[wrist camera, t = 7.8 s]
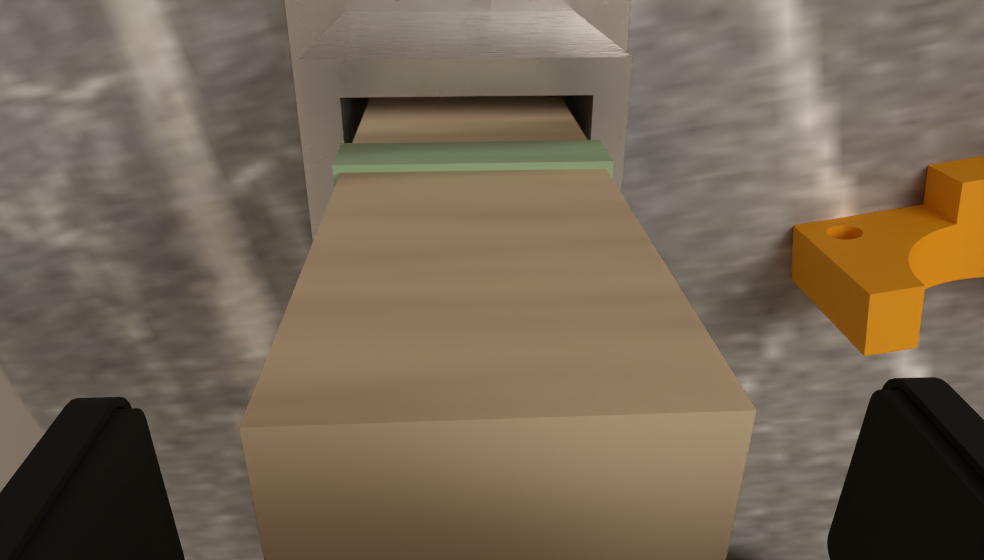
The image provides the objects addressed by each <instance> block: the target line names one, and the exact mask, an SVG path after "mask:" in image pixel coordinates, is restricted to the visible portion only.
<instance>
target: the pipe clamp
mask: <svg viewBox="0 0 984 560" xmlns="http://www.w3.org/2000/svg"><path fill="white" fill-rule="evenodd" d="M979 277H984V156H980V157H974V158H968V159H962V160H956V161H950V162H944V163H938V164H932V165H928V171H927V179H926V187H925V195H924V203H923V204H922V205H916V206H910V207H904V208H898V209H892V210H886V211H880V212H873V213H867V214H861V215H855V216H849V217H843V218H837V219H831V220H825V221H819V222H813V223H806V224H800V225H794V229H793V255H792V280H793V281H794V282H795V283H796V284H797V285H798V286H799V287H800V288H801V289H802V291H803V292H804V293H805V294H806V295H807V296H808V297H809V298H810V299H811V300H812V301H813V302H814V303H815V304H816V305H817V306H818V308H819V309H820V310H821V311H822V312H823V313H824V314H825V315H826V316H827V317H828V318H829V319H830V320H831V321H832V322H833V323H834V325H835V326H836V327H837V328H838V329H839V330H840V331H841V332H842V333H843V334H844V335H845V336H846V337H847V338H848V339H849V340H850V342H851V343H852V344H853V345H854V346H855V347H856V348H857V349H858V350H859V351H860V352H861V353H862V354H863V355H864V356H868V355H875V354H881V353H887V352H893V351H900V350H906V349H912V348H917V346H918V338H919V331H920V323H921V315H922V308H923V300H924V293H925V289H927V288H930V287H932V286H935V285H938V284H941V283H945V282H950V281H954V280H960V279H968V278H979Z"/></svg>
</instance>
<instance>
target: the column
mask: <svg viewBox="0 0 984 560" xmlns="http://www.w3.org/2000/svg"><path fill="white" fill-rule="evenodd" d="M613 164H614V161H613V159H612V158H611V156H610V155H609V154H608V152H607V151H606V149H605V148H604V146H603V145H602V143H601V142H600V140H587V138H586V136H585V135H584V133H583V132H582V130H581V128H580V127H579V125H578V124H577V122H576V120H575V119H574V117H573V116H572V114H571V112H570V111H569V109H568V108H567V106H566V104H565V103H564V101H563V100H562V98H561V96H560V95H545V96H447V97H370V100H369V102H368V105H367V107H366V110H365V112H364V115H363V117H362V120H361V122H360V125H359V127H358V130H357V132H356V135H355V137H354V140H353V142H352V143H342V144H341V146H340V148H339V150H338V153H337V155H336V157H335V159H334V162H333V164H332V172H333V182H334V190H333V193H332V195H331V198H330V200H329V203H328V205H327V208H326V210H325V213H324V215H323V218H322V220H321V223H320V225H319V228H318V230H317V233H316V235H315V238H314V240H313V243H312V245H311V248H310V251H309V253H308V256H307V258H306V261H305V263H304V266H303V268H302V271H301V273H300V276H299V278H298V281H297V283H296V286H295V288H294V291H293V293H292V296H291V298H290V301H289V303H288V306H287V308H286V311H285V313H284V316H283V318H282V321H281V323H280V326H279V329H278V331H277V334H276V336H275V339H274V341H273V344H272V346H271V349H270V351H269V354H268V356H267V359H266V361H265V364H264V366H263V369H262V371H261V374H260V376H259V379H258V381H257V384H256V386H255V389H254V391H253V394H252V396H251V399H250V401H249V404H248V407H247V409H246V412H245V414H244V417H243V419H242V422H241V424H240V427H239V430H240V435H241V440H242V446H243V451H244V456H245V461H246V467H247V472H248V477H249V482H250V487H251V493H252V498H253V503H254V508H255V514H256V519H257V524H258V529H259V535H260V540H261V545H262V550H263V556H264V560H726V557H727V552H728V547H729V542H730V537H731V532H732V527H733V523H734V518H735V513H736V508H737V503H738V498H739V493H740V488H741V483H742V479H743V474H744V469H745V464H746V459H747V454H748V449H749V444H750V439H751V435H752V430H753V425H754V420H755V415H756V409H755V407H754V406H753V404H752V402H751V401H750V399H749V398H748V396H747V394H746V393H745V391H744V390H743V388H742V386H741V385H740V383H739V382H738V380H737V378H736V377H735V375H734V374H733V372H732V370H731V369H730V367H729V366H728V364H727V362H726V361H725V359H724V358H723V356H722V354H721V353H720V351H719V350H718V348H717V346H716V345H715V343H714V342H713V340H712V338H711V337H710V335H709V333H708V332H707V330H706V329H705V327H704V325H703V324H702V322H701V321H700V319H699V317H698V316H697V314H696V313H695V311H694V309H693V308H692V306H691V305H690V303H689V301H688V300H687V298H686V297H685V295H684V293H683V292H682V290H681V289H680V287H679V285H678V284H677V282H676V281H675V279H674V277H673V276H672V274H671V273H670V271H669V269H668V268H667V266H666V265H665V263H664V261H663V260H662V258H661V257H660V255H659V253H658V252H657V250H656V249H655V247H654V245H653V244H652V242H651V241H650V239H649V237H648V236H647V234H646V233H645V231H644V229H643V228H642V226H641V225H640V223H639V221H638V220H637V218H636V217H635V215H634V213H633V212H632V210H631V209H630V207H629V205H628V204H627V202H626V201H625V199H624V197H623V196H622V194H621V193H620V191H619V189H618V188H617V186H616V185H615V183H614V181H613V180H612V176H613Z"/></svg>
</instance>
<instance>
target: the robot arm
mask: <svg viewBox="0 0 984 560" xmlns="http://www.w3.org/2000/svg"><path fill="white" fill-rule="evenodd" d="M827 544H828V553H829V557H830V560H984V420H983V419H982V418H981V417H980V416H979V415H978V414H977V413H976V412H975V411H974V410H973V409H972V408H971V407H970V406H969V405H968V404H967V403H966V402H965V401H964V400H963V399H962V398H961V397H960V396H959V395H958V394H957V393H956V392H955V391H954V390H953V389H952V388H951V387H950V386H949V385H948V384H947V383H946V382H945V381H943V380H942V379H939V378H935V377H929V378H894V379H891V380H888V381H887V382H886V383H885V384H884V386H883V388H882V390H878V391H875V392H874V393H873V394H872V396H871V399H870V401H869V405H868V408H867V411H866V414H865V418H864V421H863V424H862V427H861V431H860V434H859V437H858V440H857V443H856V447H855V450H854V453H853V456H852V460H851V463H850V466H849V469H848V473H847V476H846V479H845V482H844V486H843V489H842V492H841V495H840V499H839V502H838V505H837V508H836V512H835V515H834V518H833V521H832V524H831V528H830V531H829V534H828V540H827ZM0 560H185V559H184V554H183V550H182V547H181V543H180V540H179V536H178V532H177V529H176V525H175V521H174V518H173V514H172V511H171V507H170V503H169V500H168V496H167V493H166V489H165V485H164V482H163V478H162V475H161V471H160V467H159V464H158V460H157V456H156V453H155V449H154V446H153V442H152V438H151V435H150V431H149V428H148V424H147V420H146V417H145V415H144V412H143V411H142V410H141V409H138V408H133V409H132V408H131V406H130V403H129V402H128V401H127V400H126V399H125V398H122V397H105V398H76V399H73V400H71V401H70V402H69V403H68V404H67V405H66V406H65V407H64V409H63V410H62V411H61V413H60V414H59V415H58V417H57V418H56V419H55V421H54V422H53V423H52V425H51V426H50V427H49V429H48V430H47V431H46V433H45V434H44V435H43V437H42V438H41V439H40V441H39V442H38V443H37V445H36V446H35V447H34V449H33V450H32V451H31V453H30V454H29V455H28V457H27V458H26V459H25V461H24V462H23V463H22V465H21V466H20V467H19V468H18V470H17V471H16V473H15V474H14V475H13V476H12V478H11V479H10V481H9V482H8V483H7V484H6V486H5V487H4V488H3V490H2V491H1V493H0Z"/></svg>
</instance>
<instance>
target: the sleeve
mask: <svg viewBox="0 0 984 560" xmlns="http://www.w3.org/2000/svg"><path fill="white" fill-rule="evenodd" d="M284 1H285V10H286V18H287V27H288V35H289V44H290V52H291V61H292V69H293V78H294V86H295V95H296V103H297V112H298V120H299V129H300V137H301V146H302V154H303V163H304V171H305V180H306V189H307V197H308V206H309V214H310V223H311V231H312V240H314V238H315V235H316V233H317V230H318V228H319V225H320V223H321V220H322V218H323V215H324V213H325V210H326V208H327V205H328V203H329V200H330V198H331V195H332V193H333V190H334V182H333V172H332V164H333V162H334V159H335V157H336V155H337V153H338V150H339V148H340V146H341V144H342V143H352V142H353V140H354V137H355V135H356V132H357V130H358V127H359V125H360V122H361V120H362V117H363V115H364V112H365V110H366V107H367V105H368V102H369V100H370V97H447V96H545V95H560V96H561V98H562V100H563V101H564V103H565V104H566V106H567V108H568V109H569V111H570V112H571V114H572V116H573V117H574V119H575V120H576V122H577V124H578V125H579V127H580V128H581V130H582V132H583V133H584V135H585V136H586V138H587V140H600V142H601V143H602V145H603V146H604V148H605V149H606V151H607V152H608V154H609V155H610V156H611V158H612V159H613V161H614V164H613V176H612V180H613V181H614V183H615V185H616V186H617V188H618V189H619V191H620V193H621V187H622V176H623V165H624V153H625V142H626V130H627V119H628V107H629V96H630V84H631V73H632V61H633V57H632V56H631V55H629V54H628V53H627V45H628V33H629V21H630V9H631V0H284Z"/></svg>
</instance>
